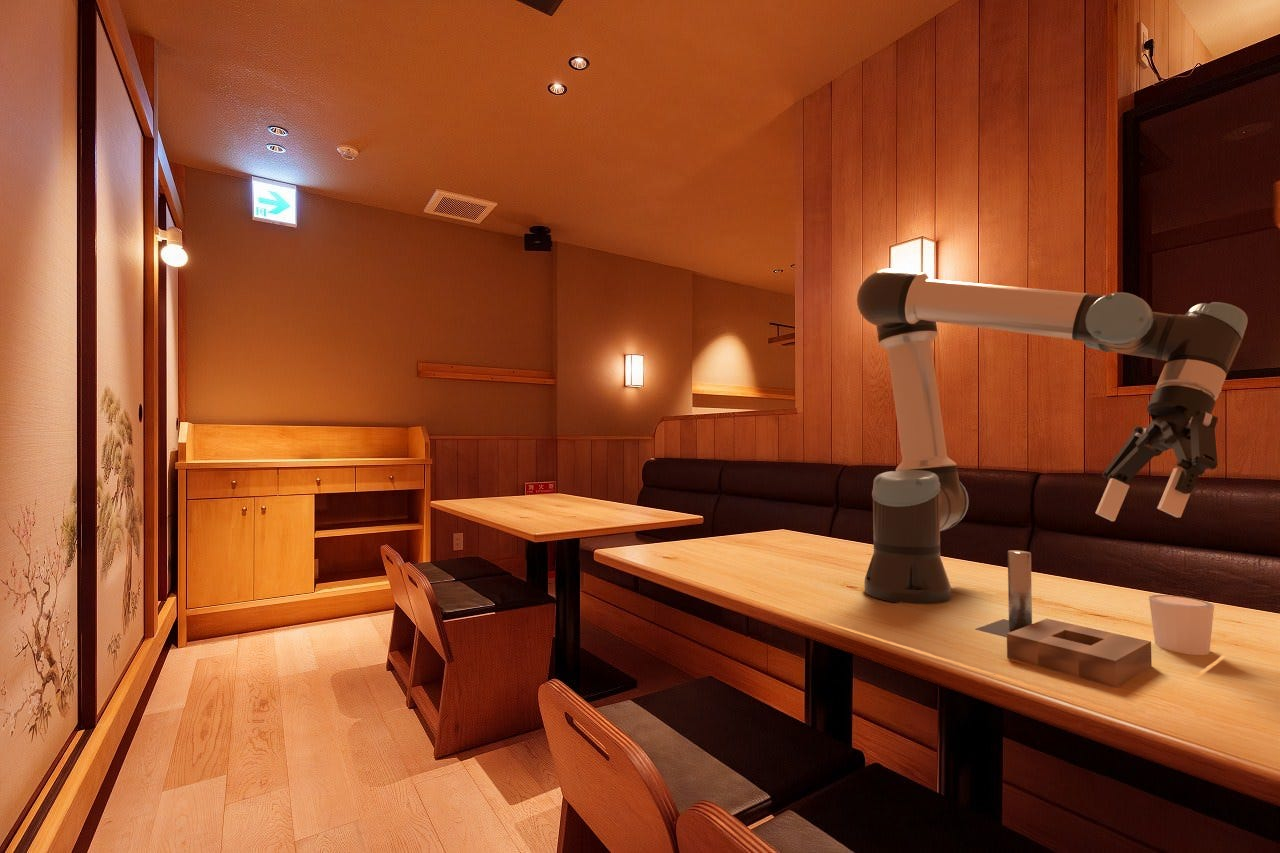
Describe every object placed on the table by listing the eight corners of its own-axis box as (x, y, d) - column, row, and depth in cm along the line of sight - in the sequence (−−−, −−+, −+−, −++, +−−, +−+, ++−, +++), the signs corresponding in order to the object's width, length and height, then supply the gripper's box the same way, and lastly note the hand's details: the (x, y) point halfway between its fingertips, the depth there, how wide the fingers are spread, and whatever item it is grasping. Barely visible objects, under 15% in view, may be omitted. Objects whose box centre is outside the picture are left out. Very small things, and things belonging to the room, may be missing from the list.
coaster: (975, 631, 92) (975, 628, 92) (1003, 621, 97) (1003, 619, 97) (1040, 648, 85) (1040, 645, 85) (1067, 636, 90) (1067, 633, 90)
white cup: (1193, 661, 80) (1191, 609, 80) (1137, 644, 86) (1136, 596, 86) (1228, 656, 81) (1227, 604, 82) (1171, 640, 88) (1170, 592, 88)
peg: (1005, 630, 91) (1003, 551, 92) (1014, 627, 93) (1013, 549, 93) (1026, 635, 89) (1025, 554, 89) (1035, 632, 90) (1034, 552, 91)
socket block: (1007, 659, 80) (1006, 633, 80) (1047, 642, 87) (1046, 618, 87) (1116, 690, 70) (1115, 660, 70) (1151, 668, 77) (1151, 641, 77)
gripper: (1286, 385, 81) (1231, 524, 78) (1150, 422, 105) (1105, 529, 103) (1228, 361, 82) (1172, 497, 80) (1107, 403, 107) (1061, 508, 104)
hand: (1134, 515), depth 91 cm, fingers open, 13 cm apart
